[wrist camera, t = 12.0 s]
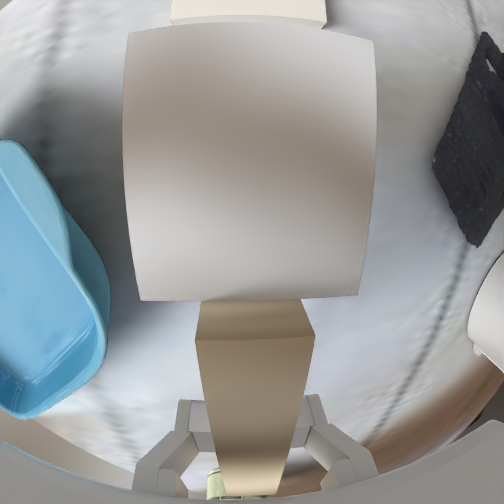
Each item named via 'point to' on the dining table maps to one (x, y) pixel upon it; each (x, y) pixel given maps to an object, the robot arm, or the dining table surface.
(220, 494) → the coffee can
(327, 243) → the turner
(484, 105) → the black folded cloth
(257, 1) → the tile
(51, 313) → the casserole dish
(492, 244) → the dining table surface
